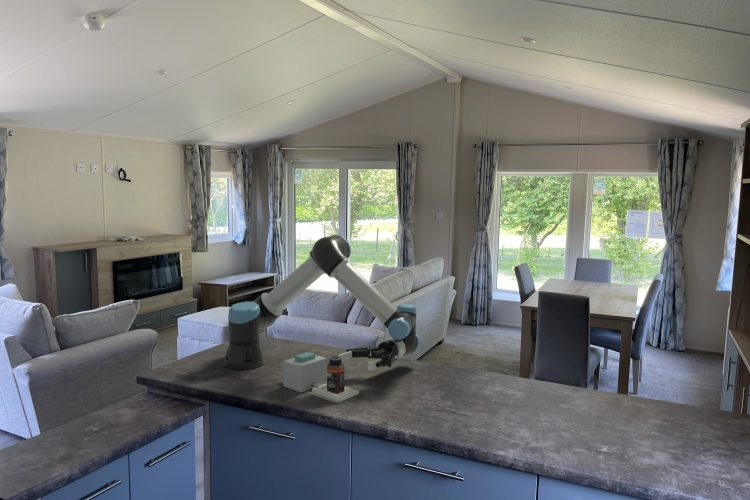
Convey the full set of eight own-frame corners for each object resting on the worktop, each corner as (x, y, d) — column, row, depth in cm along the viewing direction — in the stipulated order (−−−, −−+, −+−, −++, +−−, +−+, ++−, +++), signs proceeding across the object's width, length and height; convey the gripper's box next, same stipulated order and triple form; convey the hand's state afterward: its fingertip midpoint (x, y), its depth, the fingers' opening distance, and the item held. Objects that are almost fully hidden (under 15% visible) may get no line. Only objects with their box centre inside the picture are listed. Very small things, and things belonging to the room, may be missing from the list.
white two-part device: (275, 383, 188) (275, 354, 187) (300, 375, 197) (300, 346, 196) (335, 403, 170) (335, 371, 169) (359, 393, 179) (360, 362, 178)
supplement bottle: (345, 388, 181) (346, 355, 180) (343, 395, 175) (343, 361, 174) (328, 387, 181) (328, 355, 180) (324, 394, 175) (325, 360, 174)
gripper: (418, 366, 193) (381, 381, 177) (365, 353, 209) (327, 366, 192) (418, 346, 193) (382, 359, 176) (365, 334, 208) (327, 345, 192)
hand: (353, 362), depth 184 cm, fingers open, 13 cm apart
